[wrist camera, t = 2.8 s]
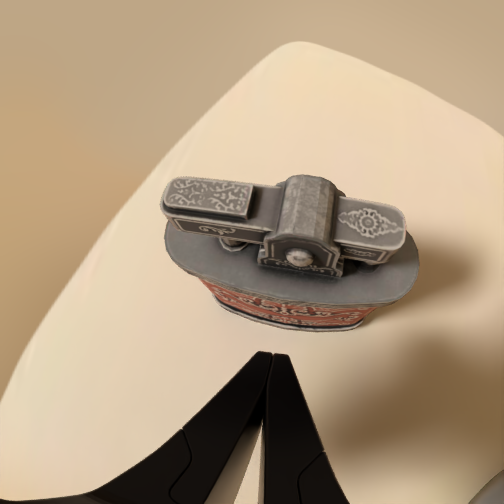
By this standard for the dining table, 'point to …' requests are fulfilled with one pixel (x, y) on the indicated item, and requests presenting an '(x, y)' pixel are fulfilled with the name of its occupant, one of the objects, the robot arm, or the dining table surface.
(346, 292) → the lighter
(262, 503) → the robot arm
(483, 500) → the grey smooth stone
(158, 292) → the dining table surface
